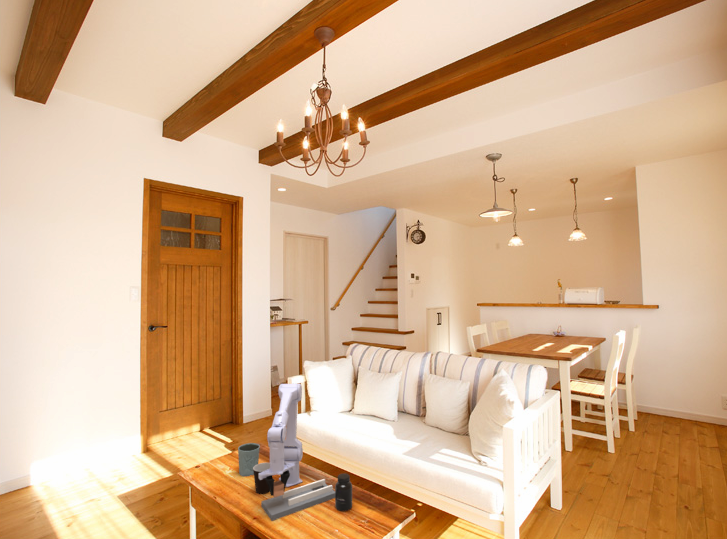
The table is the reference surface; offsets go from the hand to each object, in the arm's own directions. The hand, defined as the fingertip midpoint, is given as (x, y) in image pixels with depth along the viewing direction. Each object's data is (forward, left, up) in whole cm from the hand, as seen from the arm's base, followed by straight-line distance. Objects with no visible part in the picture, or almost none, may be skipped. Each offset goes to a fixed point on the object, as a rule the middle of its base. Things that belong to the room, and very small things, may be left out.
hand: (277, 492), depth 150 cm
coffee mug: (-19, +1, -7) cm, 20 cm away
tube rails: (0, +13, -4) cm, 14 cm away
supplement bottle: (+14, +22, -7) cm, 27 cm away
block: (0, 0, 0) cm, 0 cm away
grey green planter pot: (-39, 0, -7) cm, 39 cm away
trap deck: (0, +9, -7) cm, 12 cm away
